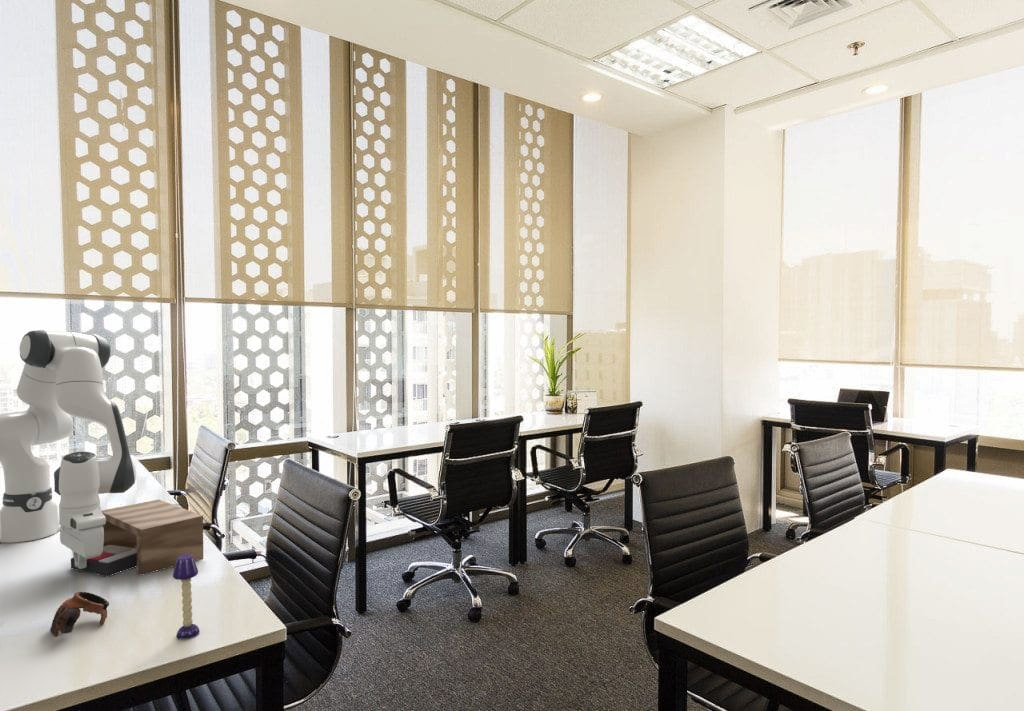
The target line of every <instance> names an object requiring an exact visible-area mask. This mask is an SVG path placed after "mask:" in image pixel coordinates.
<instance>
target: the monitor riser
mask: <svg viewBox="0 0 1024 711" xmlns="http://www.w3.org/2000/svg"><path fill="white" fill-rule="evenodd" d="M101 511H102V513H103V515H104V516H105V518H106V524H105V525H102V526H103V529H104V542H103V547H104V546H107V545H116V546H120V547H121V546H124V547H132V548H135V547H134V546H136V549H137V566H136V573H137V574H139V575H140V574H141V576H144V575H143V574H145V575H147V573H148V574H151V573H150V572H152V573H154V572H153V571H155V572H157V571H156V570H159V571H161V570H160V569H162V570H164V569H163V568H166V569H169V568H172V567H171V566H173V567H175V564H176V560H177V558H178V557H179V556H182V555H187V554H189V555H192V556H193V557H194V560H195V561H197V559H198V560H201V559H204V515H202V514H199V513H196V512H194V511H191V510H188V509H186V508H183V507H180V506H178V505H175V504H172V503H169V502H166V501H164V500H161V499H155V500H154V499H153V500H149V501H144V502H140V503H132V504H128V505H124V506H118V507H113V508H108V509H101ZM168 567H169V568H168Z"/></svg>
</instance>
